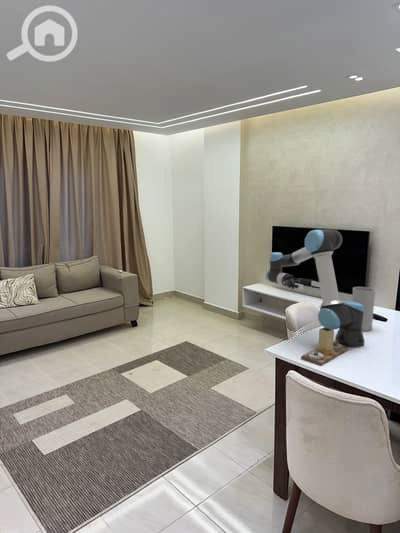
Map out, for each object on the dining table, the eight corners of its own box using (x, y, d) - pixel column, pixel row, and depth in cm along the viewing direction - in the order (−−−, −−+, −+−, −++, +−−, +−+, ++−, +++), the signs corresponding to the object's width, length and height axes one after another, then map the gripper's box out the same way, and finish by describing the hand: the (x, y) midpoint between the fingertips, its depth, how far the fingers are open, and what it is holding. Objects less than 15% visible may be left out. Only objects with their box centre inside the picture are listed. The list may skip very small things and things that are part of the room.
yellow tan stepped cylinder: (324, 347, 196) (325, 325, 194) (338, 353, 189) (339, 330, 187) (312, 350, 192) (314, 328, 190) (326, 356, 184) (327, 333, 182)
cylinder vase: (352, 323, 240) (355, 285, 236) (373, 327, 233) (377, 288, 229) (347, 328, 230) (350, 289, 226) (369, 332, 223) (372, 292, 219)
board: (328, 344, 204) (329, 331, 203) (348, 350, 196) (349, 337, 195) (301, 358, 185) (301, 344, 184) (321, 365, 177) (322, 351, 176)
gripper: (300, 283, 236) (326, 290, 218) (270, 287, 224) (295, 295, 206) (300, 272, 235) (327, 277, 217) (270, 275, 223) (296, 282, 204)
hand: (312, 286), depth 211 cm, fingers open, 13 cm apart
